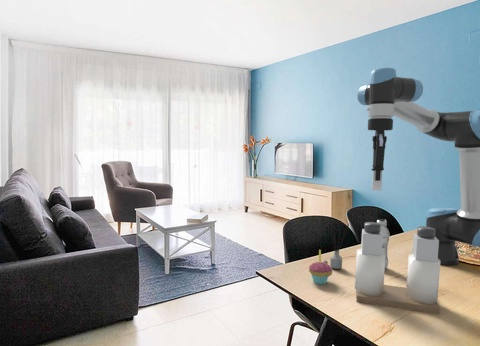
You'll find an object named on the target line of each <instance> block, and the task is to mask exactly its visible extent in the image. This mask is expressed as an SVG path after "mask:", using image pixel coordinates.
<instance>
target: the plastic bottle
mask: <svg viewBox="0 0 480 346" xmlns="http://www.w3.org/2000/svg"><path fill="white" fill-rule="evenodd" d="M376 223H379V224H381V230H380V231H381V232H382V234H383V242H382V252H384V253H385V254H386V256H385V270H386V269H387V268H388V267H389V257H388V246H389V240H390V231H389V229H388V228H387V226H388V225H387V223H388V221H387V220H386V219H377V220H376Z"/></svg>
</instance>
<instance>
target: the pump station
mask: <svg viewBox="0 0 480 346" xmlns="http://www.w3.org/2000/svg"><path fill="white" fill-rule="evenodd" d="M412 238H413V239H412V249H411V250H412V252H411V253H410V254H408V260H407V273H406V287H405V286H404V287H403V286H396V285H390V284H389V285H388V284H385V270H386V269H385V256H386V254H385V253H384V252H382V242H383V234H382V232H381V231H380V233H370V232H366V231H364V228H362V230H361V243H360V248H357V249H356V255H355V256H356V257H355V259H356V261H355V277H354V289H355V298H356V299H355V300H356V302H357V303H364V304H371V305H375V306H376V305H378V306H384V307H389V308H390V307H391V308H397V309H404V310H411V311H416V312H417V311H418V312H424V313H428V314H429V313H430V314H437V315H440V313H441V307H440V305H439V303H438V297H439V287H440V286H439V284H440V274H441V273H440V272H441V271H440V270H441V264H440V262H441V261H440V259H438V248H439V240H438V239H437V238H436V237H435V238H423V237H420V236H418V235H417V233H413V236H412Z"/></svg>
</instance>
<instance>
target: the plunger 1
mask: <svg viewBox="0 0 480 346" xmlns="http://www.w3.org/2000/svg"><path fill="white" fill-rule="evenodd" d="M363 229H364V231H366V232H370V233H380V230H381V224H379V223H377V222H375V221H365V222H364V228H363Z"/></svg>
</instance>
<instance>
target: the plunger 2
mask: <svg viewBox="0 0 480 346" xmlns="http://www.w3.org/2000/svg"><path fill="white" fill-rule="evenodd" d="M435 232H436V229H434V228H431V227H426V225H425V226H420V225H419V226H418V227H417V231H416V234H417V235H418V236H420V237H423V238H435Z"/></svg>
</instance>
